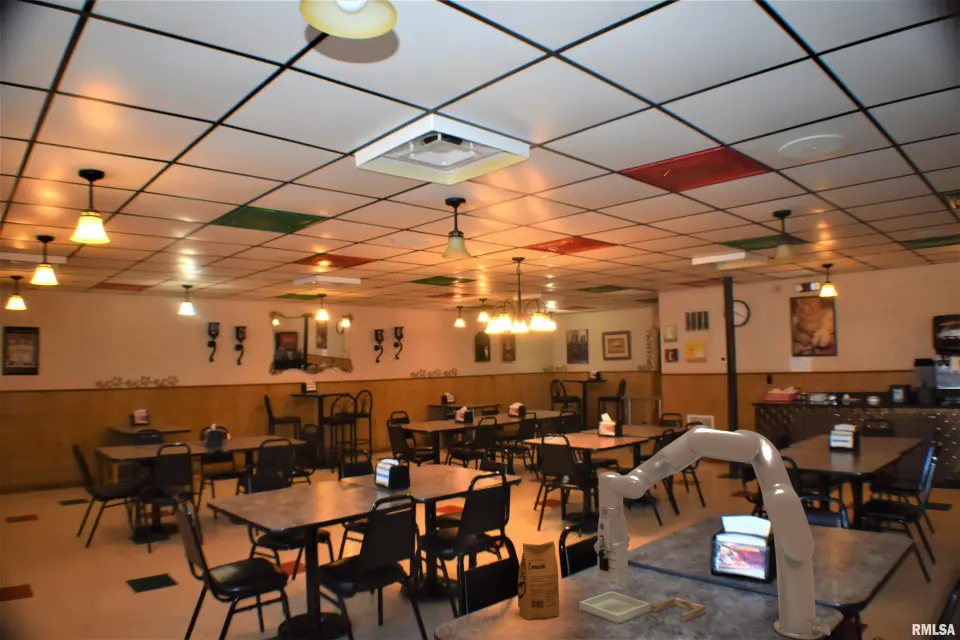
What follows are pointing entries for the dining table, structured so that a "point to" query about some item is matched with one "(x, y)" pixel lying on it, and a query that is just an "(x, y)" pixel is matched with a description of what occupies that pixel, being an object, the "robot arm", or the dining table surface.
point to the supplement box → (615, 564)
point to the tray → (615, 607)
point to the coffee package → (538, 582)
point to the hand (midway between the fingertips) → (613, 567)
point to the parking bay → (694, 608)
